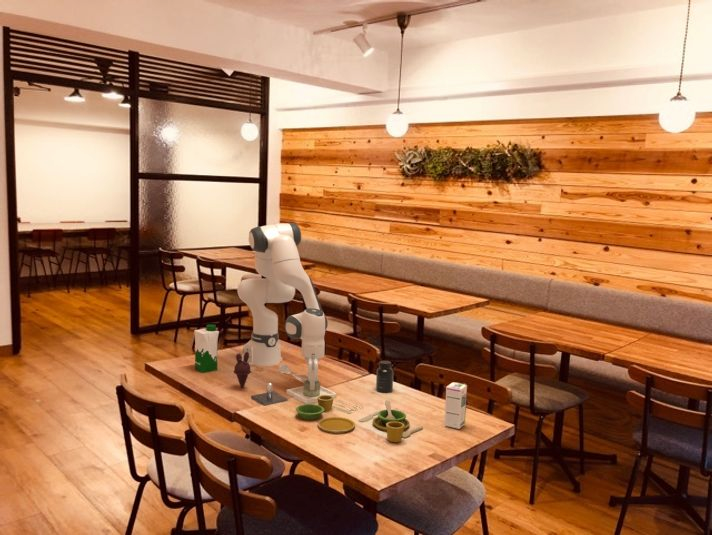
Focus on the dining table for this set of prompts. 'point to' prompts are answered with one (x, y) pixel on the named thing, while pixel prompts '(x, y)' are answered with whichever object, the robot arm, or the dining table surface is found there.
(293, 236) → the robot arm
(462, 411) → the syrup box
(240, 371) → the icecream
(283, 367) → the stirrer
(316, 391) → the napkin ring
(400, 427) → the tableware set
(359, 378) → the dining table surface
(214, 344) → the milk carton
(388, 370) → the supplement bottle
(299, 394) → the tray
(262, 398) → the stand
